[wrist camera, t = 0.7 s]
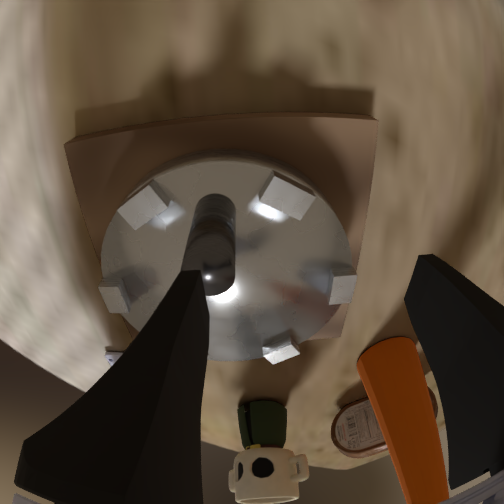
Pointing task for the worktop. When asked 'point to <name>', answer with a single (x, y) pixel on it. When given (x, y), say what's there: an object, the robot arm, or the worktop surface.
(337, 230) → the grey disc with blocks
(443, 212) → the worktop surface
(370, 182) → the base board
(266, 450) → the character mug
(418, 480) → the spray bottle
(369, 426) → the tin
